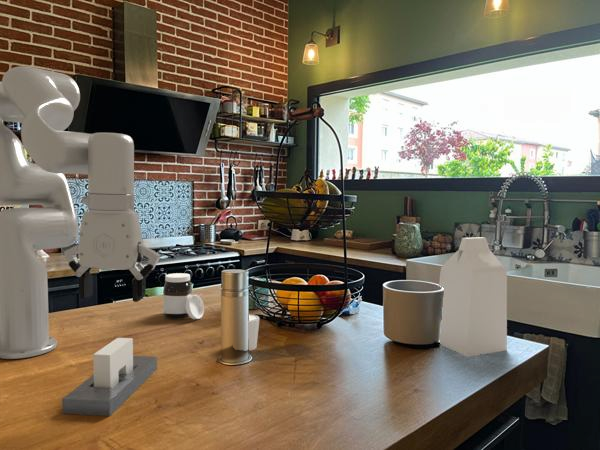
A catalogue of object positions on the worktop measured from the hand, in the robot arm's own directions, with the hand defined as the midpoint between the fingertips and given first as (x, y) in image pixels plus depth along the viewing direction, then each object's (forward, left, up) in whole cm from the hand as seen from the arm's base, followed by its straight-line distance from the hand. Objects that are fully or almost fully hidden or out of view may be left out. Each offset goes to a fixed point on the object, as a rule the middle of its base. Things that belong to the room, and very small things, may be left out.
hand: (112, 298), depth 86 cm
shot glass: (+19, +25, -17) cm, 36 cm away
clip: (0, 0, -17) cm, 17 cm away
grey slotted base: (0, 0, -17) cm, 17 cm away
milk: (+72, +33, -17) cm, 81 cm away
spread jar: (-3, +48, -17) cm, 51 cm away
